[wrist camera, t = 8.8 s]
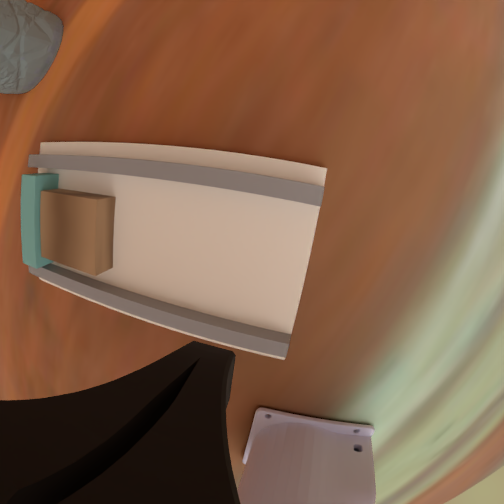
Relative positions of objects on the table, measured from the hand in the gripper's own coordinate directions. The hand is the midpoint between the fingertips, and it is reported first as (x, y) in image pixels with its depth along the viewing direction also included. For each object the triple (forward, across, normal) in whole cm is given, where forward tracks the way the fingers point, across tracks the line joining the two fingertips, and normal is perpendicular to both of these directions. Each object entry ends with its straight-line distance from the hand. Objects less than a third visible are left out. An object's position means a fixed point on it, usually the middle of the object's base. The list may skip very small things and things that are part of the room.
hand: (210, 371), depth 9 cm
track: (+10, +9, -1) cm, 13 cm away
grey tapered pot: (+10, +24, -16) cm, 31 cm away
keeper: (+9, +14, -1) cm, 16 cm away
